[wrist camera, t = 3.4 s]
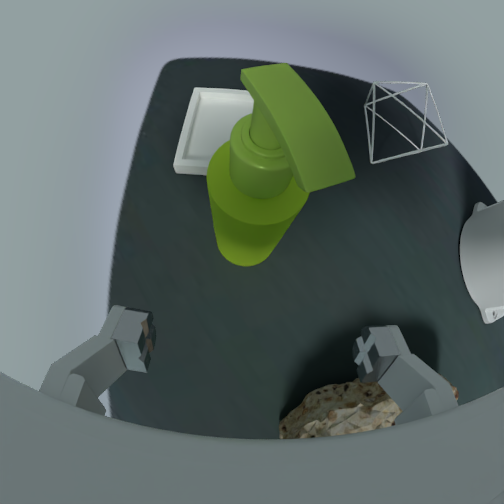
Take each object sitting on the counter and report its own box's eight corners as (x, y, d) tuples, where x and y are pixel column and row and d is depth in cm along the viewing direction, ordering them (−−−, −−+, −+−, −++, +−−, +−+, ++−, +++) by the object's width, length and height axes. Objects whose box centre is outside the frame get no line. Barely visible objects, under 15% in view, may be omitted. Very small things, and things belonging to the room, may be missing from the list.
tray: (309, 108, 32) (312, 100, 30) (311, 186, 29) (316, 179, 28) (195, 96, 31) (194, 87, 29) (175, 173, 28) (173, 165, 27)
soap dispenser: (232, 285, 26) (242, 208, 7) (208, 221, 28) (177, 56, 8) (288, 263, 27) (405, 159, 8) (261, 202, 28) (311, 37, 9)
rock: (429, 351, 27) (486, 376, 18) (400, 439, 28) (439, 474, 18) (277, 370, 24) (317, 432, 14) (262, 470, 24) (284, 532, 14)
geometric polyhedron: (401, 191, 31) (444, 159, 22) (336, 137, 31) (364, 90, 23) (425, 142, 33) (457, 110, 25) (371, 97, 34) (395, 58, 25)
